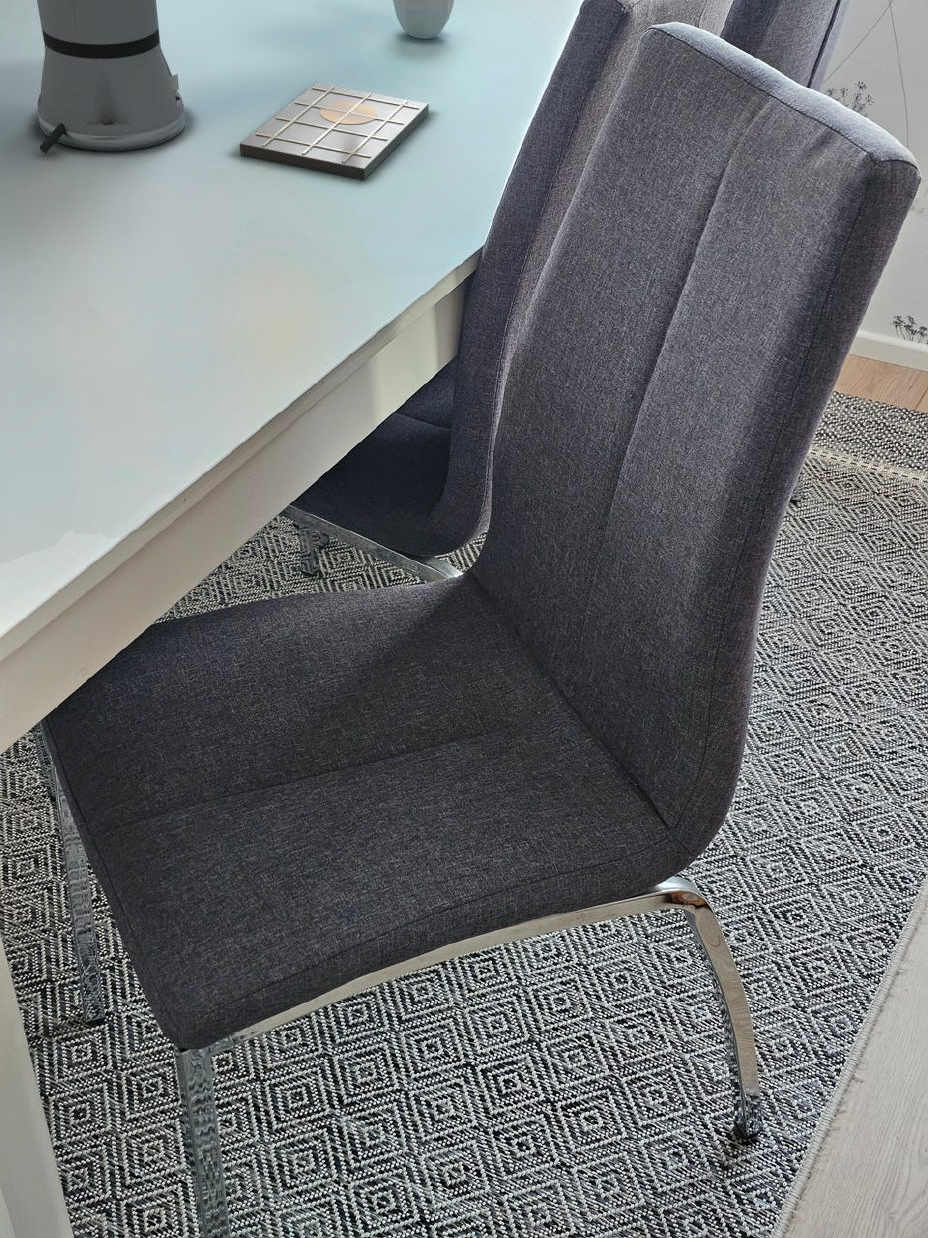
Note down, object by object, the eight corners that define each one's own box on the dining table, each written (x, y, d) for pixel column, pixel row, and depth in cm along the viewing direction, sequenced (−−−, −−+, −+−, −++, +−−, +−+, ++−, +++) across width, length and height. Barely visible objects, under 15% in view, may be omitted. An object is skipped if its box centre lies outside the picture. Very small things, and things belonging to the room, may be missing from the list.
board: (364, 180, 123) (364, 167, 122) (240, 154, 126) (239, 142, 125) (428, 114, 137) (429, 102, 137) (315, 92, 140) (315, 80, 139)
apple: (464, 35, 158) (467, -19, 153) (427, 49, 153) (430, -7, 149) (417, 20, 161) (418, -33, 157) (379, 33, 156) (380, -22, 152)
